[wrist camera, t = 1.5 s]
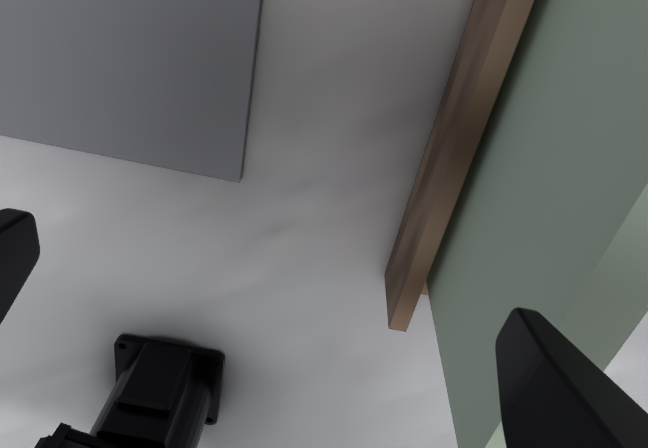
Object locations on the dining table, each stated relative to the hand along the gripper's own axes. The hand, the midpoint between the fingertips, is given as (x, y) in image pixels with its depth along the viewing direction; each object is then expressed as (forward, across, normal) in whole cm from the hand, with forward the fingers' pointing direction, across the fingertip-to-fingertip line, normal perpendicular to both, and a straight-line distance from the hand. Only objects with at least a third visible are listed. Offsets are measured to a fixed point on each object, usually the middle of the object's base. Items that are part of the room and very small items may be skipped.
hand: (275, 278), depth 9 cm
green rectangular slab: (+12, -7, 0) cm, 14 cm away
